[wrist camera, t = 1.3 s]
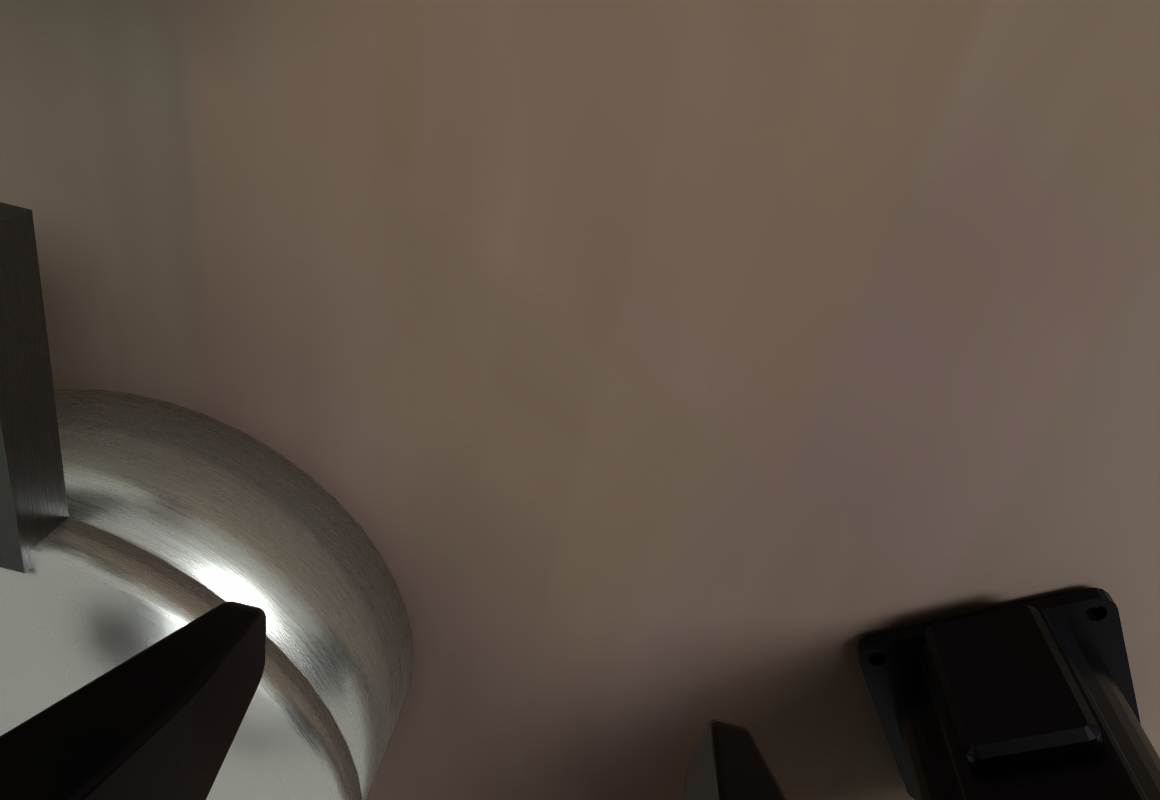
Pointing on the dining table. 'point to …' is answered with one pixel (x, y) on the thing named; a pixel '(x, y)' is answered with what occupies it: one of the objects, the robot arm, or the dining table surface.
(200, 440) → the cooker pot
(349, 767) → the cooker lid
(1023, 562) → the dining table surface
